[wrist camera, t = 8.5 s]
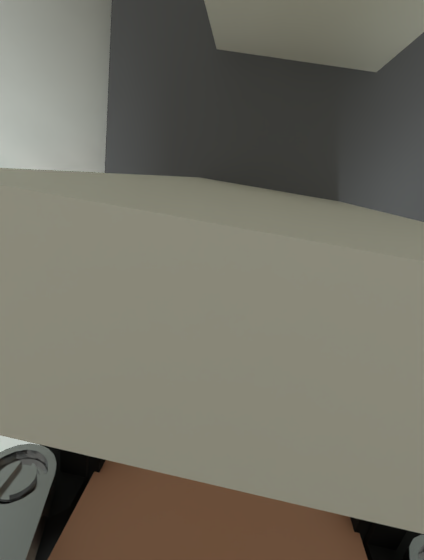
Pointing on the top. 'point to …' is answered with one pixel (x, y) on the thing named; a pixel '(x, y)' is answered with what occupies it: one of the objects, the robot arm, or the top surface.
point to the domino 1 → (318, 29)
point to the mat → (261, 113)
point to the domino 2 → (217, 336)
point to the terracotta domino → (195, 523)
